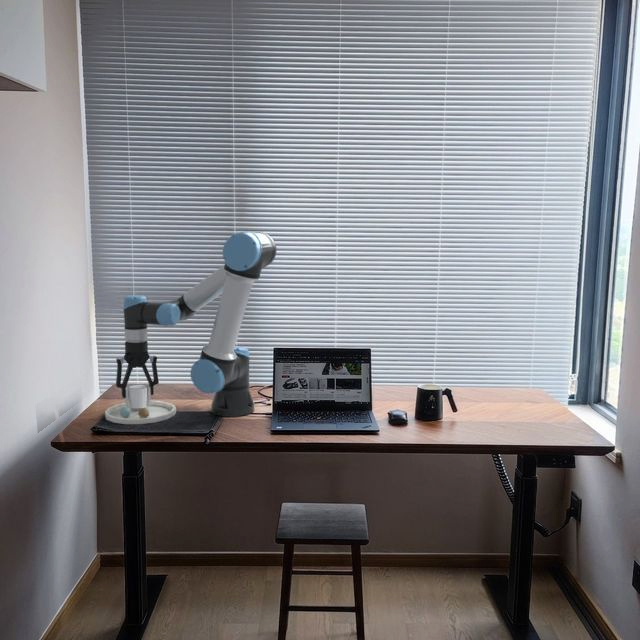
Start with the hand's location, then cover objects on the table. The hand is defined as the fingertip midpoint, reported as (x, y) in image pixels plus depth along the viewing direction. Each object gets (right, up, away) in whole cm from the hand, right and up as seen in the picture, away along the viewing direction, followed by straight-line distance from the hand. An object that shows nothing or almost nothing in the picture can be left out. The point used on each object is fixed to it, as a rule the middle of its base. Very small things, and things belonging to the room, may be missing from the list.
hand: (138, 405), depth 222 cm
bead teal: (-2, -3, -9) cm, 10 cm away
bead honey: (+5, -3, -10) cm, 12 cm away
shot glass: (0, 0, 0) cm, 1 cm away
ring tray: (+2, -3, -5) cm, 6 cm away
